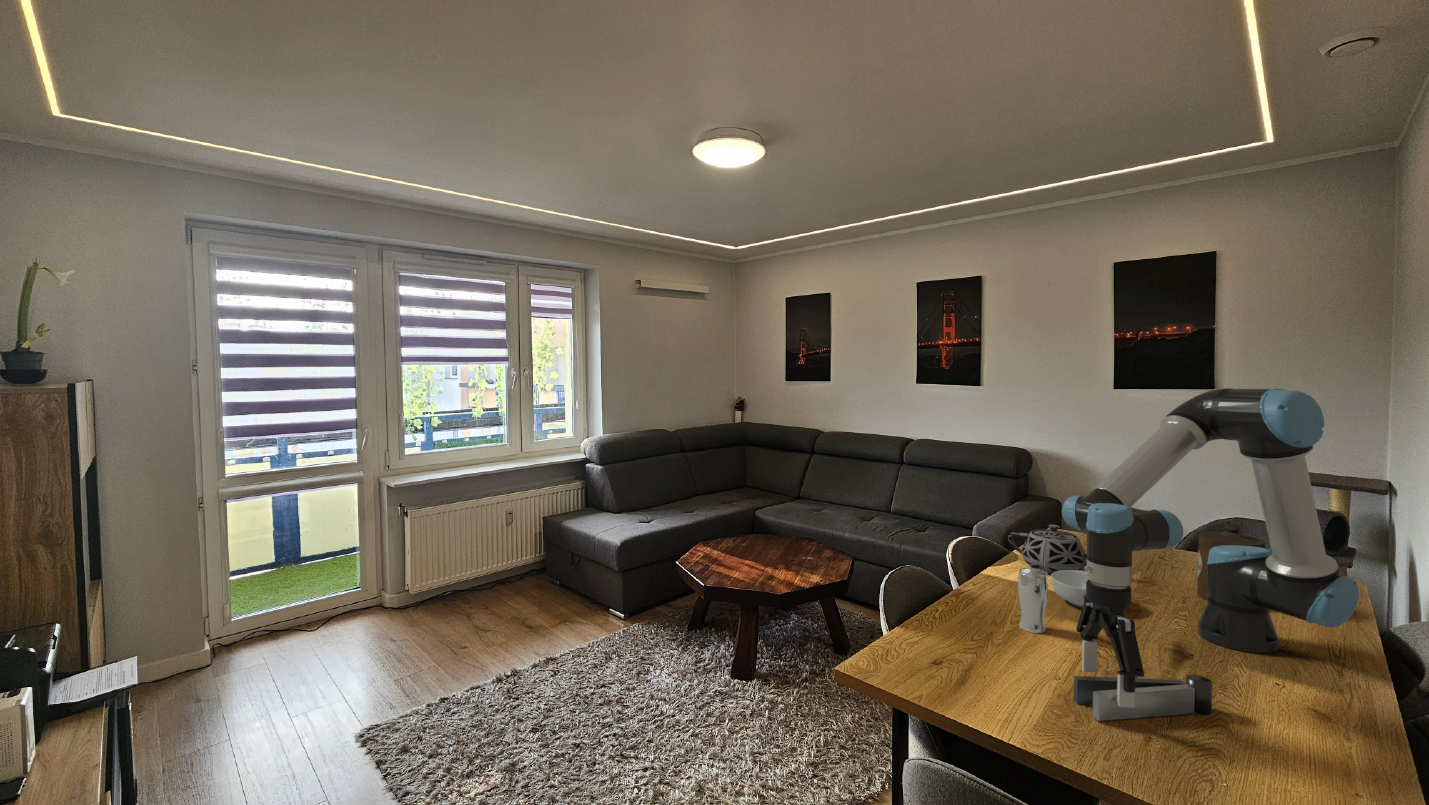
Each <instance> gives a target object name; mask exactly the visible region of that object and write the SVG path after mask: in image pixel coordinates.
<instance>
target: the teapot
mask: <svg viewBox="0 0 1429 805" xmlns="http://www.w3.org/2000/svg"><path fill="white" fill-rule="evenodd" d="M1047 527H1048V528H1046V529H1045V528H1039V529H1033V530H1031V531H1030V532H1029V533H1028V532H1017V531H1013V532H1011V533H1009V534H1008V536H1007V537H1008V538H1007V539H1008V543H1009V544H1010V546H1011V547H1012V548H1013V549H1014V550H1015V551H1016V552H1018V553H1019V554H1020V555H1021V556H1022V559H1023V560H1024V562H1026V564H1028V565H1029V568H1035V569H1039V570H1043V571H1045V572H1046V573H1047V574H1050V575H1051V574H1052V573H1053V572H1056V571H1061V570H1078V571H1082V570H1083V569H1085V566H1087V553H1086V551H1085V548H1084V546H1083V545H1082V544H1083V543H1082V542H1081V540H1080V538H1079V537H1078V536H1077V535H1076V534H1075V533H1072V532H1068V531H1065V530H1059V529H1060V528H1061V527H1060V525H1057V524H1048V525H1047ZM1015 536H1016V537H1017V536H1018V537H1025V538H1026V539H1025V541H1024V543H1023V545H1022V548H1020V547H1019V546H1018V545H1017V544H1016V542H1015V540H1014V537H1015Z"/></svg>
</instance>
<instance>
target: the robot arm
mask: <svg viewBox="0 0 1429 805" xmlns="http://www.w3.org/2000/svg"><path fill="white" fill-rule="evenodd" d="M1320 406H1321V405H1319V403H1318V402H1317V400H1315V399H1314V398H1313V397H1312V396H1311V395H1308V394H1307V393H1306V392H1303V391H1300V390H1290V389H1284V388H1271V389H1269V388H1229V387H1228V388H1227V387H1225V388H1217V389H1212V390H1209V391H1206V392H1203V393H1201V394H1198V395H1195V396H1194V397H1191V398H1189V399H1187V400H1186V401H1184V402H1183V403H1181V404H1179V405H1178V406H1176V407H1175V408H1173V410H1171V411H1170V412H1169V413H1168V414H1166V416H1165V417H1164V418H1162V419H1161V421H1160V423H1159V424H1160V428H1158V429H1157V430H1156V431H1155V432H1154V433H1153V434H1152V435H1151V436H1150V437H1149V438H1148V439H1147V440H1145V441H1144V443H1142V444H1141V445H1140V446H1139V447H1138V448H1137V449H1135V451H1134V452H1132V453H1131V454H1130V455H1129V456H1128V457H1126V459H1125V460H1124V461H1122V462H1121V464H1120V465H1118V466H1117V467H1116V468H1115V469H1114V470H1113V471H1112V472H1111V473H1109V475H1108V476H1107V477H1106V478H1104V479H1103V480H1102V481H1101V482H1100V483H1099V484H1098V485H1097V486H1095V487H1094V488H1093V490H1092V491H1090V492H1089V493H1088V494H1087V495H1086V496H1085V495H1072V496H1069V497H1068V498H1066V500H1065V501H1064V502H1063V504H1062V508H1061V515H1062V519H1063V520H1064V522H1065V523H1066V524H1067V526H1069V527H1071V528H1074V529H1077V530H1079V531H1081V532H1084V533H1086V554H1087V566H1085V567H1084V569H1085V571H1086V572H1087V578H1088V579H1089V580H1088V581H1086V595H1084V605H1083V607H1081V608H1082V609H1081V611H1080V615H1079V618H1078V622H1077V624H1076V628H1075V629H1076V632H1077V633H1080V639H1081V640H1082V641H1081V642H1082V645H1081V647H1082V648H1081V650H1082V652H1081V653H1082V656H1081V671H1082V672H1083V673H1095V674H1096V673H1098V667H1099V666H1098V665H1099V664H1098V662H1099V653H1098V652H1099V642H1098V641H1097V640H1099V636H1098V635H1099V634H1100V633H1101V631H1103V630H1104V631H1105V635H1106V637H1108V638H1109V639H1110V641H1111V644H1112V648H1113V652H1114V653H1115V658H1116V661H1117V663H1118V667H1119V670H1118V671H1116V673H1117V678H1118V682H1117V705H1118V706H1119V707H1133V708H1135V678H1136V677H1139V678H1141V677H1143V678H1144V676H1145V673H1144V672H1145V671H1144V667H1143V662H1142V658H1141V654H1140V653H1141V652H1140V650H1139V644H1138V641H1137V640H1138V639H1137V635H1136V624H1135V622H1136V621H1135V620H1134V619H1127V618H1125V614H1124V613H1125V612H1124V610H1125V609H1126V608H1127V609H1128V607H1130V606H1131V605H1132V587H1131V585H1132V584H1133V582H1132V580H1133V579H1132V578H1133V552H1138V551H1139V552H1140V551H1150V550H1157V549H1158V550H1163V549H1166V548H1169V547H1170V548H1171V547H1173V546H1176V545H1178V544H1179V543H1180V542H1181V540H1182V539H1183V537H1184V527H1183V523H1182V522H1181V520H1180V519H1179V518H1178V517H1177V516H1176V514H1174V513H1173V512H1171V511H1168V510H1165V509H1150V510H1144V509H1139V508H1136V507H1133V506H1134V505H1135V504H1136V503H1137V502H1138V501H1139V500H1140V499H1141V498H1142V497H1143V496H1144V495H1146V494H1147V492H1149V491H1150V490H1151V489H1152V488H1153V487H1154V486H1155V485H1156V484H1157V483H1158V482H1159V481H1160V480H1161V479H1162V478H1164V477H1165V476H1166V474H1168V473H1169V472H1170V471H1171V470H1172V469H1173V468H1174V467H1175V466H1176V465H1177V464H1179V463H1180V461H1182V460H1183V459H1184V458H1185V457H1186V456H1187V455H1188V454H1189V453H1190V452H1191V451H1192V450H1199V449H1202V448H1203V447H1204V446H1205V445H1207V443H1209V442H1211V441H1215V440H1226V441H1236V442H1237V444H1238V448H1239V452H1240V454H1241V455H1242V456H1243V457H1244V458H1247V459H1249V460H1251V466H1252V467H1253V468H1252V470H1253V473H1254V478H1255V482H1256V486H1257V492H1258V496H1259V500H1260V504H1261V509H1262V514H1263V518H1264V523H1265V526H1266V531H1267V536H1268V540H1269V545H1270V549H1271V550H1270V549H1268V548H1266V547H1265V548H1260V547H1253V546H1240V545H1224V546H1216V547H1213V548H1211V549H1210V551H1209V556H1208V562H1207V564H1208V584H1207V600H1206V604H1205V607H1204V609H1203V611H1202V612H1201V615H1200V617H1199V619H1198V621H1197V633H1198V635H1199V636H1200V637H1202V638H1203V639H1204V640H1207V641H1209V642H1211V643H1213V644H1215V645H1218V646H1221V647H1224V648H1228V649H1231V650H1236V651H1240V652H1245V653H1255V654H1271V652H1272V653H1275V651H1276V652H1278V651H1279V650H1278V649H1280V638H1279V636H1278V634H1277V630H1276V628H1275V626H1274V625H1275V624H1274V623H1273V620H1272V618H1271V611H1273V612H1277V613H1280V614H1284V615H1286V616H1290V617H1293V618H1296V619H1299V620H1302V621H1305V622H1307V623H1309V624H1314V625H1315V624H1316V625H1318V626H1322V627H1326V628H1336V627H1339V626H1341V625H1343V624H1345V623H1346V622H1347V621H1348V620H1349V619H1351V617H1352V615H1353V614H1354V612H1355V610H1356V608H1357V606H1358V603H1359V598H1360V588H1359V584H1358V583H1357V581H1355V580H1354V579H1353V578H1351V577H1349V576H1346V575H1341V573H1340V568H1339V564H1338V562H1337V560H1336V559H1334V558H1333V557H1331V556H1329V555H1328V554H1327V553H1326V549H1325V545H1324V539H1323V535H1322V530H1321V526H1320V521H1319V516H1318V512H1317V511H1318V510H1317V507H1316V502H1315V497H1314V493H1313V487H1312V483H1311V478H1310V472H1309V469H1308V463H1307V459H1306V456H1307V455H1308V454H1310V452H1312V451H1313V450H1314V445H1315V444H1317V443H1318V442H1320V439H1321V438H1322V436H1323V435H1324V431H1323V428H1324V427H1325V418H1324V414H1323V411H1322V408H1321V407H1320Z"/></svg>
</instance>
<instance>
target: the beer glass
mask: <svg viewBox="0 0 1429 805" xmlns="http://www.w3.org/2000/svg"><path fill="white" fill-rule="evenodd" d="M1048 578H1049V577H1048V573H1046V572H1045V571H1043V570H1039V569H1035V568H1032V567H1021V568H1020V569H1018V579H1017V592H1018V593H1017V594H1018V595H1017V596H1018V601H1019V605H1020V621H1019V629H1021V630H1022V629H1023V631H1024V630H1025V631H1024V632H1027V631H1028V632H1027V633H1032V634H1043V633H1045V632H1046V631H1047V630H1046V627H1047V626H1046V624H1045V623H1046V622H1045V612H1046V608H1047V603H1048V598H1049V580H1048Z"/></svg>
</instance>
